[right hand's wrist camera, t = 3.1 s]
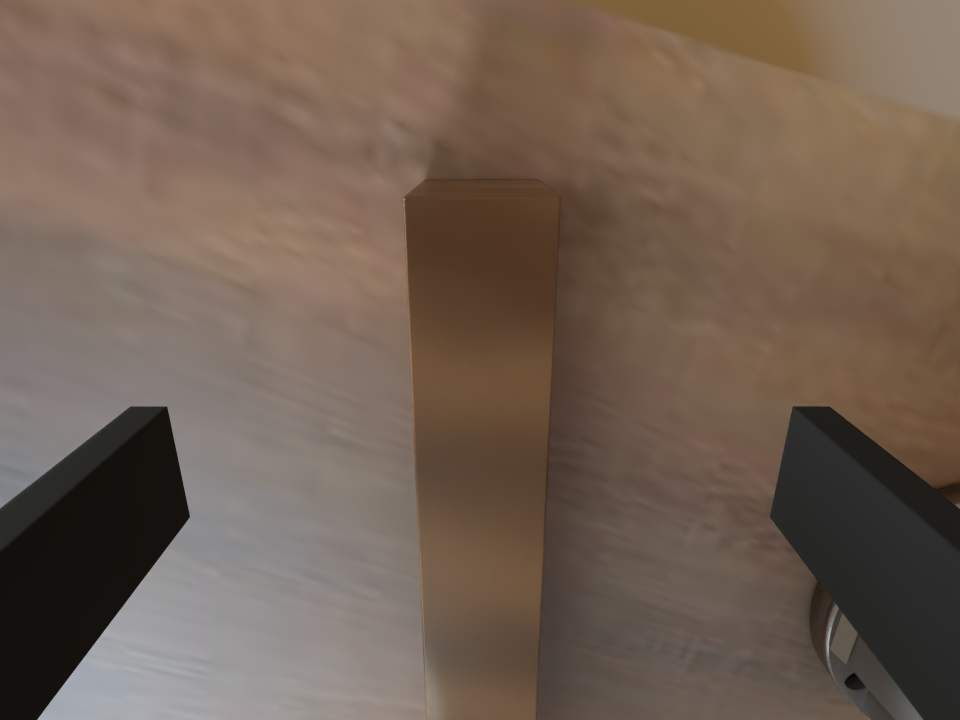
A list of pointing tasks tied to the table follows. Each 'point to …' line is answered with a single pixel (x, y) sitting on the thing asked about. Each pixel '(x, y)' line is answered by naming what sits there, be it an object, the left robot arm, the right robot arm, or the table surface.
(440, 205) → the bar
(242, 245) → the table surface
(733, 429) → the table surface
